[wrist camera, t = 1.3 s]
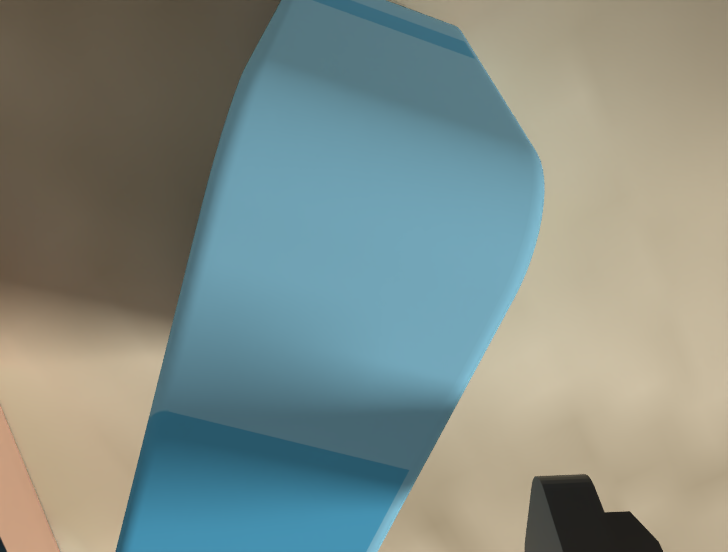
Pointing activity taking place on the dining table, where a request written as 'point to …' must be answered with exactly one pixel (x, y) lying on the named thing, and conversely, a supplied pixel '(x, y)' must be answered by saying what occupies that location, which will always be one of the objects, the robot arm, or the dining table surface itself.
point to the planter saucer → (20, 502)
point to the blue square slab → (334, 285)
